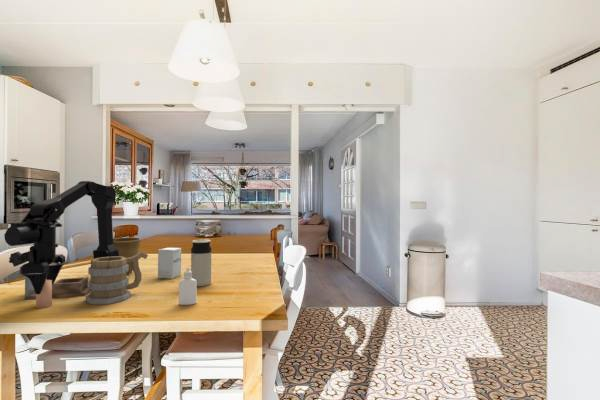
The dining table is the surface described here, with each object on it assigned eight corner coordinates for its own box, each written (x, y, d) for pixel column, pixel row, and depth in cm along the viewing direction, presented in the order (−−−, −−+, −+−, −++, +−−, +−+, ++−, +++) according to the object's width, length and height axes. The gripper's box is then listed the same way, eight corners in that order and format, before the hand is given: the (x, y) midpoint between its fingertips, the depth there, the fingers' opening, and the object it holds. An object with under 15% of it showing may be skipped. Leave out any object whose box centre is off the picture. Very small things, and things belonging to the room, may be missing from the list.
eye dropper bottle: (184, 300, 115) (184, 265, 115) (198, 302, 114) (199, 266, 114) (176, 304, 111) (176, 268, 111) (191, 306, 109) (191, 269, 109)
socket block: (93, 288, 130) (93, 262, 130) (85, 295, 120) (85, 267, 120) (37, 291, 124) (37, 264, 124) (24, 299, 115) (25, 270, 115)
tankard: (94, 307, 108) (95, 260, 108) (81, 299, 116) (82, 255, 116) (155, 294, 123) (156, 253, 123) (140, 288, 131) (140, 249, 131)
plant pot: (108, 271, 160) (108, 237, 160) (142, 269, 165) (143, 237, 165) (100, 278, 146) (100, 241, 146) (137, 276, 151) (138, 240, 151)
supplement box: (172, 279, 146) (172, 250, 146) (157, 278, 148) (157, 249, 148) (181, 275, 153) (181, 247, 153) (167, 274, 155) (167, 247, 155)
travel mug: (190, 287, 133) (190, 241, 133) (191, 282, 140) (191, 239, 140) (211, 286, 135) (211, 241, 135) (210, 281, 142) (211, 239, 142)
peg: (53, 303, 111) (53, 279, 111) (48, 307, 107) (49, 282, 107) (39, 304, 109) (39, 280, 109) (33, 308, 105) (34, 283, 105)
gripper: (28, 239, 114) (27, 284, 114) (-2, 246, 97) (-3, 300, 97) (66, 238, 118) (65, 282, 118) (44, 245, 100) (43, 297, 100)
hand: (44, 290), depth 108 cm, fingers open, 9 cm apart
